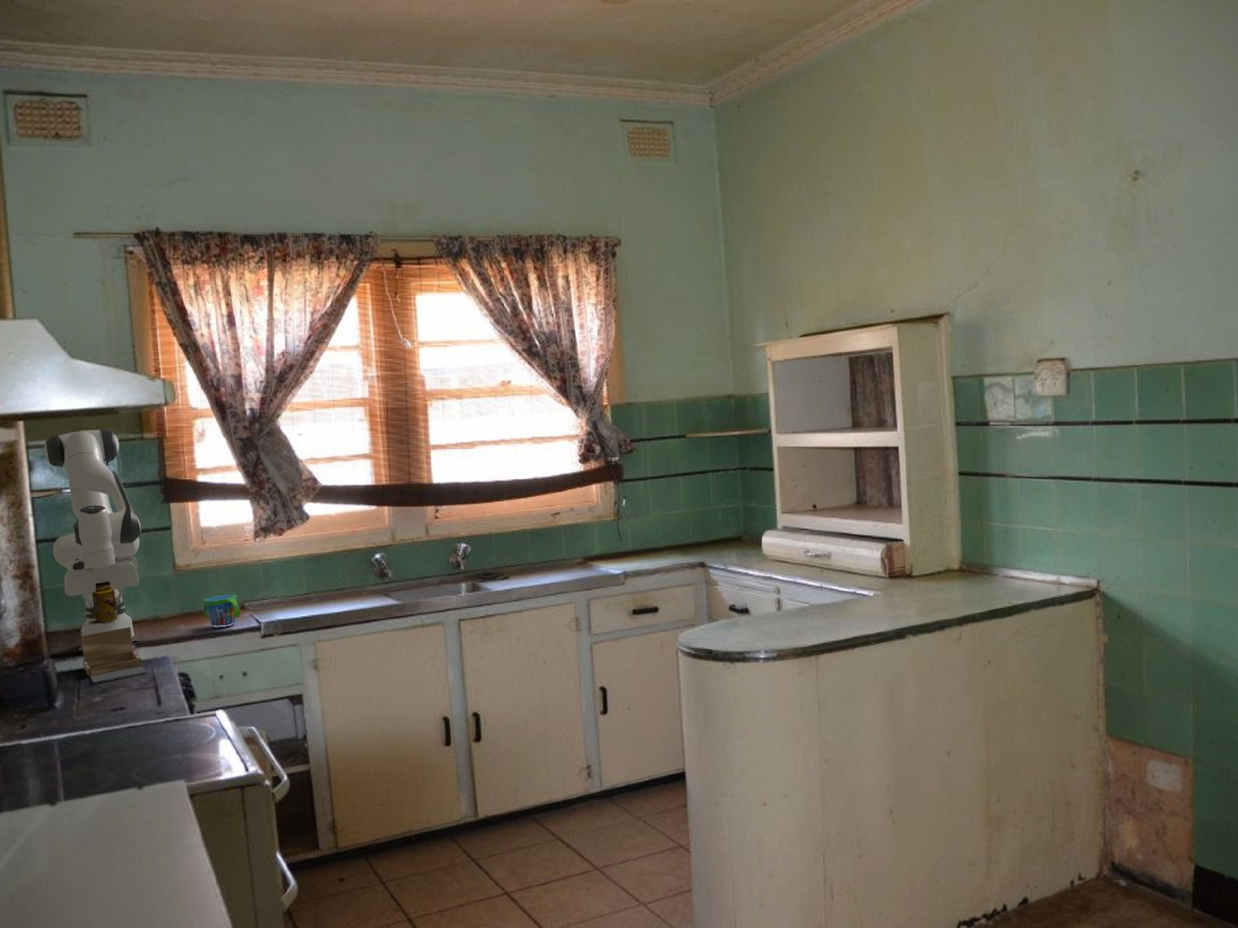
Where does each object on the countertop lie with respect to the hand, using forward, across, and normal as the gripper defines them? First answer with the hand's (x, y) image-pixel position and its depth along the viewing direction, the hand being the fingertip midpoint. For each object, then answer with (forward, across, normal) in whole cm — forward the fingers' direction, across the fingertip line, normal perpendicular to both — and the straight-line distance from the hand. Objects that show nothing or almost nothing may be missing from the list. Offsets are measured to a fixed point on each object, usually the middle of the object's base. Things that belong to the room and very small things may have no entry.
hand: (104, 605), depth 332 cm
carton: (+19, 0, 0) cm, 19 cm away
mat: (+19, 0, +14) cm, 24 cm away
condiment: (+5, +1, 0) cm, 5 cm away
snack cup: (+20, -39, -35) cm, 56 cm away
